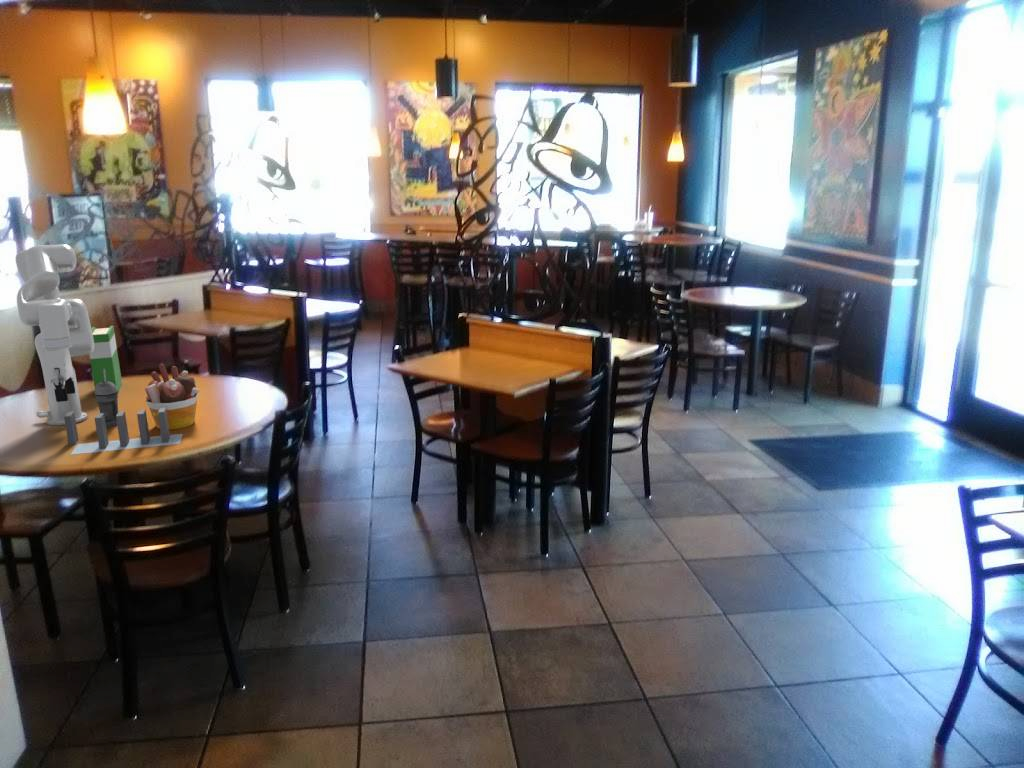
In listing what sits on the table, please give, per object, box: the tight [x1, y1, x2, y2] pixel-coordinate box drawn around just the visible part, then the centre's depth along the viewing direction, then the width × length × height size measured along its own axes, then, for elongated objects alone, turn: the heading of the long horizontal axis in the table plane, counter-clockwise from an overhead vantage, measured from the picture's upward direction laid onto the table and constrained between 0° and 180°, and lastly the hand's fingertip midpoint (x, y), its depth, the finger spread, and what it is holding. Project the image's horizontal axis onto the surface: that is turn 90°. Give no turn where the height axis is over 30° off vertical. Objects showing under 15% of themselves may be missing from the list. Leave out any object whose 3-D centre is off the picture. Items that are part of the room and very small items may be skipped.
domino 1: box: [64, 412, 79, 446], centre depth 257 cm, size 2×5×10 cm, turn 16°
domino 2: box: [94, 412, 109, 449], centre depth 253 cm, size 2×5×10 cm, turn 16°
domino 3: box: [116, 410, 130, 447], centre depth 254 cm, size 2×5×10 cm, turn 16°
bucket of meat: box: [144, 363, 201, 431], centre depth 272 cm, size 20×16×20 cm
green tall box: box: [88, 325, 123, 394], centre depth 317 cm, size 18×7×24 cm, turn 20°
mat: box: [70, 433, 184, 456], centre depth 256 cm, size 31×10×1 cm, turn 106°
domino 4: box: [136, 408, 151, 445], centre depth 256 cm, size 2×5×10 cm, turn 16°
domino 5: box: [158, 407, 171, 443], centre depth 257 cm, size 2×5×10 cm, turn 16°
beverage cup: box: [94, 369, 119, 429], centre depth 273 cm, size 7×7×20 cm
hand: (66, 397), depth 254 cm, fingers open, 9 cm apart
